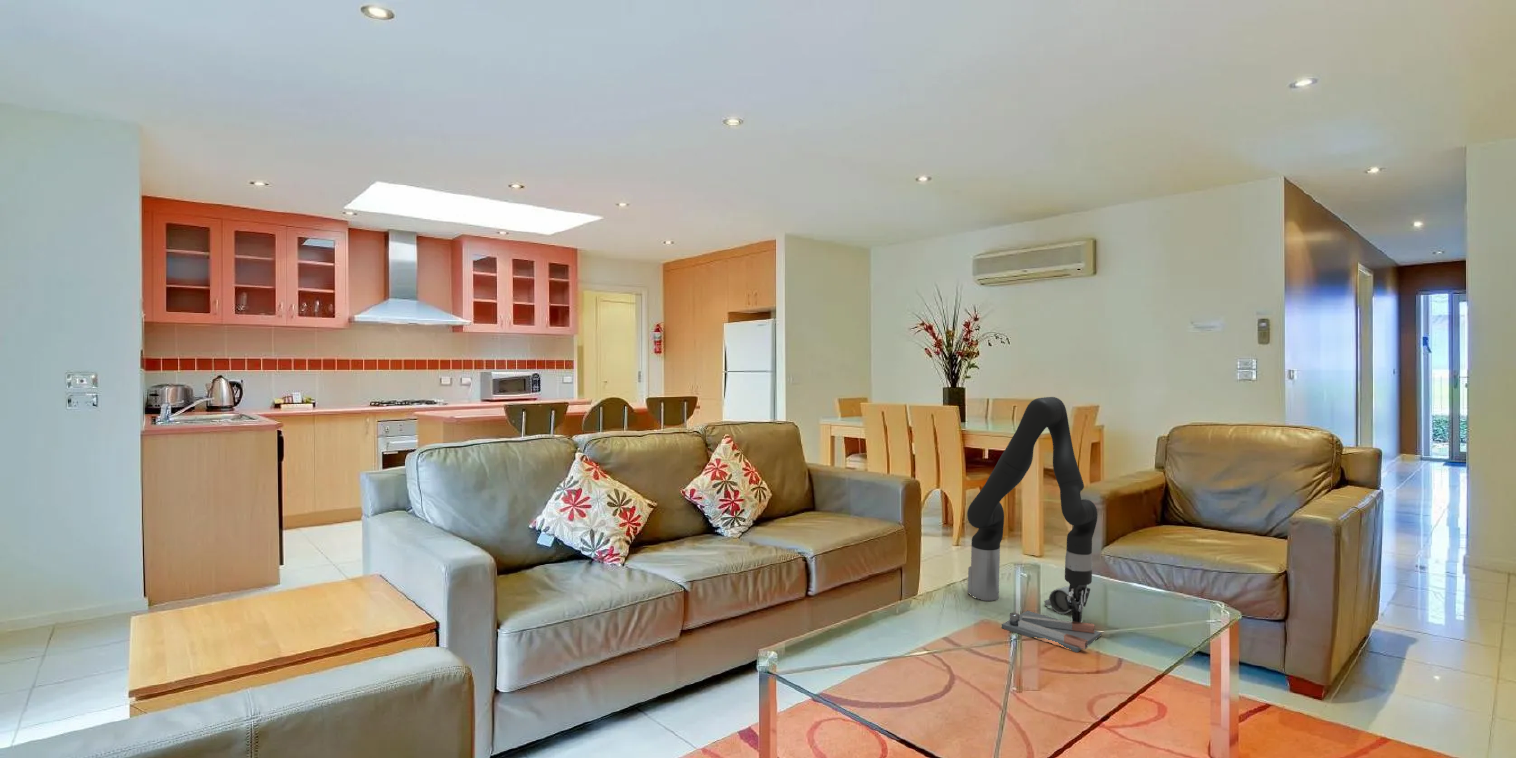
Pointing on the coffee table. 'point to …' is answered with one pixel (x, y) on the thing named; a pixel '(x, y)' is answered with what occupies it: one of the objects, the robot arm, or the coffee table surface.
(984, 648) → the coffee table surface
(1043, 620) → the tongs free arm
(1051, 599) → the ceramic mug
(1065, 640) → the tongs fixed arm
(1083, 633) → the board
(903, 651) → the coffee table surface
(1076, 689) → the coffee table surface
